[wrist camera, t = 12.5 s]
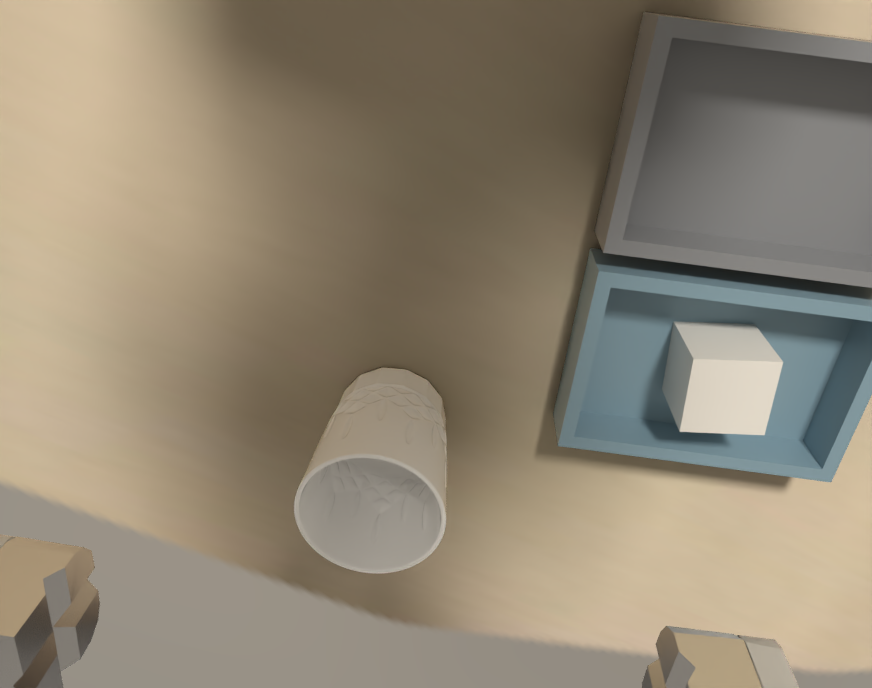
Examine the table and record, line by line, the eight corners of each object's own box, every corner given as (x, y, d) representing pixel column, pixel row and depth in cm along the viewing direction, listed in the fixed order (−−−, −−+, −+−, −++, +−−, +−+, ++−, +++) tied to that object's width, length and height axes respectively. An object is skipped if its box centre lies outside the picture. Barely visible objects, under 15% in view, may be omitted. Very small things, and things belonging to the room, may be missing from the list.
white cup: (400, 482, 48) (379, 596, 39) (307, 413, 46) (263, 517, 37) (480, 411, 45) (478, 517, 36) (385, 333, 43) (357, 426, 34)
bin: (590, 248, 40) (598, 270, 37) (877, 285, 40) (910, 311, 37) (553, 413, 45) (557, 445, 42) (807, 447, 45) (831, 482, 42)
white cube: (673, 321, 41) (693, 358, 37) (754, 324, 41) (783, 362, 37) (661, 389, 43) (679, 431, 39) (738, 392, 43) (764, 435, 39)
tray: (643, 11, 34) (658, 15, 31) (977, 54, 34) (1025, 62, 31) (594, 230, 39) (603, 252, 36) (884, 268, 39) (918, 294, 36)
